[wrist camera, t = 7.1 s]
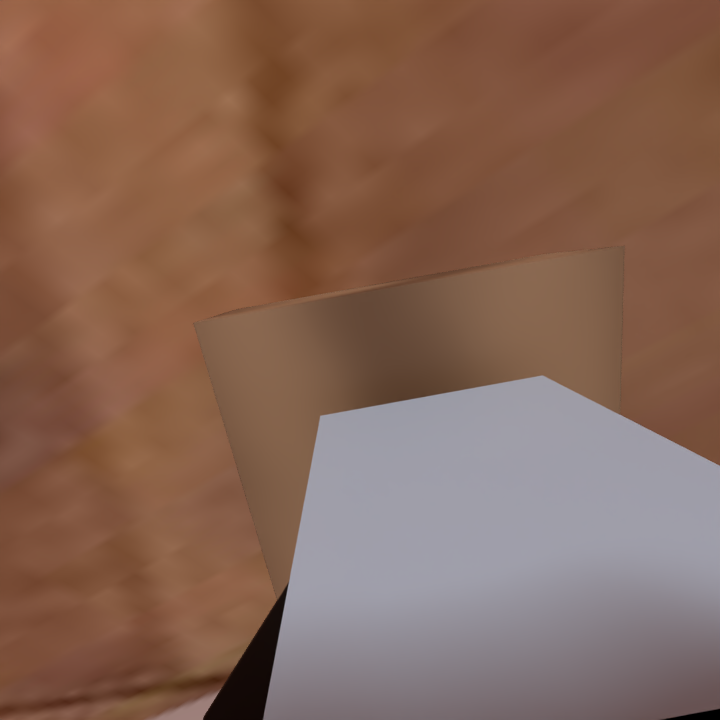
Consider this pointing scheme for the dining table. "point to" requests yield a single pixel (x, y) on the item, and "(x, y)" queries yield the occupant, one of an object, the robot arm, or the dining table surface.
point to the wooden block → (401, 361)
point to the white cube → (501, 566)
